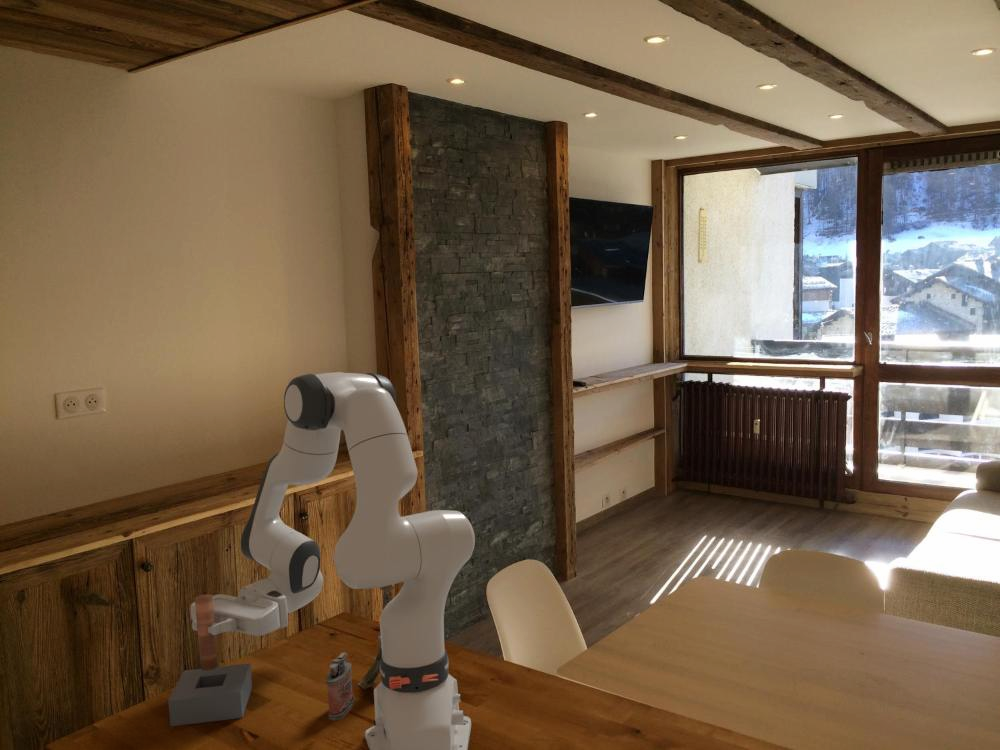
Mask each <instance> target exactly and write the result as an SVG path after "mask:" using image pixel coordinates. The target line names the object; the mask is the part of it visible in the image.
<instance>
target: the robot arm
mask: <svg viewBox="0 0 1000 750" xmlns="http://www.w3.org/2000/svg"><path fill="white" fill-rule="evenodd" d="M283 408H284V413H285V415H286V418H287V422H286V427H285V432H284V435H283V436H284V437H283V442H282V446H281V448H280V451H279V452H277V453H276V454H274V455H272V457H270V460H269V461H268V463H267V464H266V466H265V469H264V471H263V474H262V478H261V481H260V484H259V485H258V486H259V488H258V490H257V493H256V496H255V500H254V503H253V506H252V509H251V513H250V515H249V518H248V520H247V523H245V525H244V528H243V530H242V532H241V535H240V548H241V549H240V550H241V553H242V555H243V557H245V558H247V559H248V560H251V561H253V562H254V563H257V564H259V565H261V566H263V567H265V568H266V569H268V570H270V575H269V576H268V577H266V578H263V579H260V580H257V581H255V582H253V583H250V584H248V585H245V586H243V587H242V588H241V589H240V590H239V591H238V593H237V596H232V595H228V594H221V593H220V594H215V595H212V599H213V611H214V622H215V623H213V624H211V625H209V626H208V633H209V634H212V635H216V636H217V635H219V634H223V633H229V632H237V633H240V634H241V633H242V634H245V635H250V636H253V637H259V636H260V637H261V636H264V635H267V634H269V633H272V632H274V631H276V630H279V629H283V628H286V627H288V625H289V614H291V613H293V612H296V611H297V610H299V609H301V608H303V607H305V606H306V605H308V604H309V603H311V602H312V601H314V599H315V598H317V597H318V596H319V594H320V593H321V592H322V590H323V589H322V588H323V586H324V585H323V584H324V578H323V574H322V572H321V570H320V567H321V550H320V546H319V544H318V543H317V542H316V541H314V540H313V539H312V538H310V537H309V536H306V535H305V534H303V533H301V532H300V531H297V530H296V529H294V528H292V527H291V526H288V525H287V524H285V523H284V521H283V520H282V519H281V516H280V511H281V508H282V505H283V503H284V499H285V496H286V493H287V489H288V487H289V486H308V485H313V484H316V483H319V482H322V481H323V480H325V479H326V478H327V477H329V475H330V474H331V473H332V472H333V470H334V468H335V466H336V462H337V458H338V453H339V445H340V441H341V432H342V431H343V434H344V437H345V438H344V439H345V442H346V448H347V451H348V455H349V459H350V463H351V467H352V471H353V476H354V478H353V479H354V482H355V489H356V490H355V491H356V503H355V510H354V513H353V515H352V519H351V521H350V522H349V524H348V526H347V527H346V529H345V531H344V532H343V533H341V535H340V537H339V539H338V540H337V542H336V545H335V548H334V552H333V564H334V567H335V570H336V573H337V575H338V577H339V579H340V580H341V581H342V582H343V583H344V584H345V585H346V586H347V587H349V588H350V589H354V590H355V589H356V590H359V589H360V590H361V589H363V590H364V589H367V590H368V589H380V587H384V586H388V585H392V584H393V585H395V584H400V583H403V584H402V587H401V589H400V590H399V592H398V593H397V594H396V595H395V596H394V597H392V600H391V601H390V602H389V603H388V604H387V605H386V606H385V608H384V609H383V608H382V612H381V614H380V618H379V629H380V630H379V631H380V636H381V647H382V656H381V658H380V679H381V681H380V683H379V684H378V685H377V686H376V687H375V688H374V689H373V698H374V699H373V700H374V719H373V724H374V725H373V726H371V727H370V728H368V729H366V730H365V732H364V738H365V741H366V744H367V746H368V749H369V750H468V749H469V742H470V737H471V736H470V735H471V728H472V721H471V720H472V719H471V718H470V717H469V716H467V715H466V716H465V715H464V710H462V709H461V710H460V705H459V703H461V701H462V700H461V693H459V692H458V691H459V690H458V681H457V679H456V678H454V677H453V676H452V675H451V674H450V672H449V669H450V668H449V664H450V663H449V657H448V652H447V651H448V650H447V649H446V648H445V625H444V624H445V621H444V620H445V619H444V617H445V606H446V601H447V598H448V595H449V591H450V589H451V587H452V584H453V582H454V580H455V578H456V576H457V575H458V573H459V572H460V570H461V569H462V568H463V566H464V565H465V564H466V563H467V562H468V561H469V560H470V559H471V557H472V555H473V552H474V549H475V543H476V536H475V535H476V534H475V531H474V528H473V526H472V523H471V522H470V520H469V519H468V518H467V516H466V515H464V514H463V513H462V512H461V511H459V510H449V509H447V510H446V509H442V510H440V509H438V510H437V509H435V510H428V511H423V512H420V513H419V512H418V513H414V514H409V515H405V516H401V514H400V512H399V511H400V510H399V501H400V500H401V499H402V498H403V497H405V496H406V495H407V494H408V493H409V492H410V491H411V490H412V489H413V488H414V486H415V485H416V483H417V479H418V475H419V474H418V473H419V472H418V471H419V470H418V468H417V464H416V460H415V457H414V453H413V451H412V450H413V449H412V446H411V443H410V439H409V435H408V432H407V428H406V426H405V422H404V421H403V418H402V415H401V413H400V411H399V409H398V407H397V396H396V390H395V388H394V386H393V384H392V382H391V381H390V379H388V377H386V376H384V375H381V374H377V373H371V372H367V373H359V372H358V373H357V372H343V371H337V372H336V371H335V372H323V373H317V374H313V373H307V374H303V375H299V376H296V377H294V378H292V379H291V380H290V382H289V383H288V385H287V386H286V388H285V391H284V395H283ZM393 585H392V586H393ZM189 607H190V609H189V610H190V618H191V621H192V623H191V628H192V630H193V631H196V632H198V630H197V619H196V608H195V601H194V602H192V603H191V604H190V606H189Z"/></svg>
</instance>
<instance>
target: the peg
mask: <svg viewBox="0 0 1000 750" xmlns="http://www.w3.org/2000/svg"><path fill="white" fill-rule="evenodd" d="M212 596H213V595H212V594H207V593H205V594H201V595H198V596H197V595H196V596H195V597H194V602H195V608H196V619H197V630H198V631H197V640H198V651H199V652H198V653H199V660H200V669H201V670H204V671H208V670H213V669H215V668H217V667H219V658H218V650H217V649H218V647H217V635H212V634H209V633H208V626H209V625H211V624H213V623H215V622H214V611H213V599H212Z"/></svg>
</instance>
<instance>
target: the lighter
mask: <svg viewBox="0 0 1000 750" xmlns="http://www.w3.org/2000/svg"><path fill="white" fill-rule="evenodd" d="M347 660H348V653H346V652H341V653H340V655H338V656H337V658H333V659H332V661H331V664H330V665H329V673H328V674H327V676H326V678H325V683H326V686H327V695H328V696H327V698H328V709H329V710H328V719H329V720H330V719H331V721H339V720H341V719H343V718H344V717H345V716H346V715H347V714H348V713H349V712H350V711H351V710H352V707H353V706H354V704H355V696H354V694H353V693H354V692H353V684H352V683H353V682H352V663H351V662H346V661H347Z"/></svg>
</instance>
